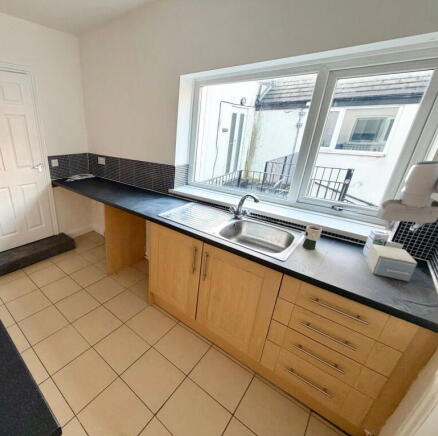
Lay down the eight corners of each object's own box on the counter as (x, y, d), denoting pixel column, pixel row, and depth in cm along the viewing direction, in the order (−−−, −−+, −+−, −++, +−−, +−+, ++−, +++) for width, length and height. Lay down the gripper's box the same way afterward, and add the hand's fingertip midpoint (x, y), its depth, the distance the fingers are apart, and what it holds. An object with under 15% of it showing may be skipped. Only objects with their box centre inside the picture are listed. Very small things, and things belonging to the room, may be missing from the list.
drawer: (412, 286, 104) (420, 270, 101) (378, 278, 109) (384, 263, 107) (398, 267, 119) (404, 252, 116) (368, 260, 124) (373, 247, 121)
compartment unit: (408, 281, 109) (417, 263, 105) (372, 273, 115) (379, 255, 111) (397, 266, 121) (405, 249, 117) (365, 260, 127) (371, 243, 123)
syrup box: (365, 257, 129) (375, 233, 123) (361, 252, 134) (371, 228, 128) (379, 260, 127) (390, 235, 121) (374, 254, 132) (384, 230, 126)
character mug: (301, 242, 144) (306, 222, 139) (315, 246, 141) (321, 225, 136) (300, 250, 136) (306, 229, 130) (315, 254, 132) (322, 233, 127)
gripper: (390, 200, 101) (378, 231, 106) (447, 203, 98) (433, 234, 103) (379, 196, 107) (369, 225, 112) (433, 199, 104) (420, 229, 109)
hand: (400, 230), depth 107 cm, fingers open, 8 cm apart
